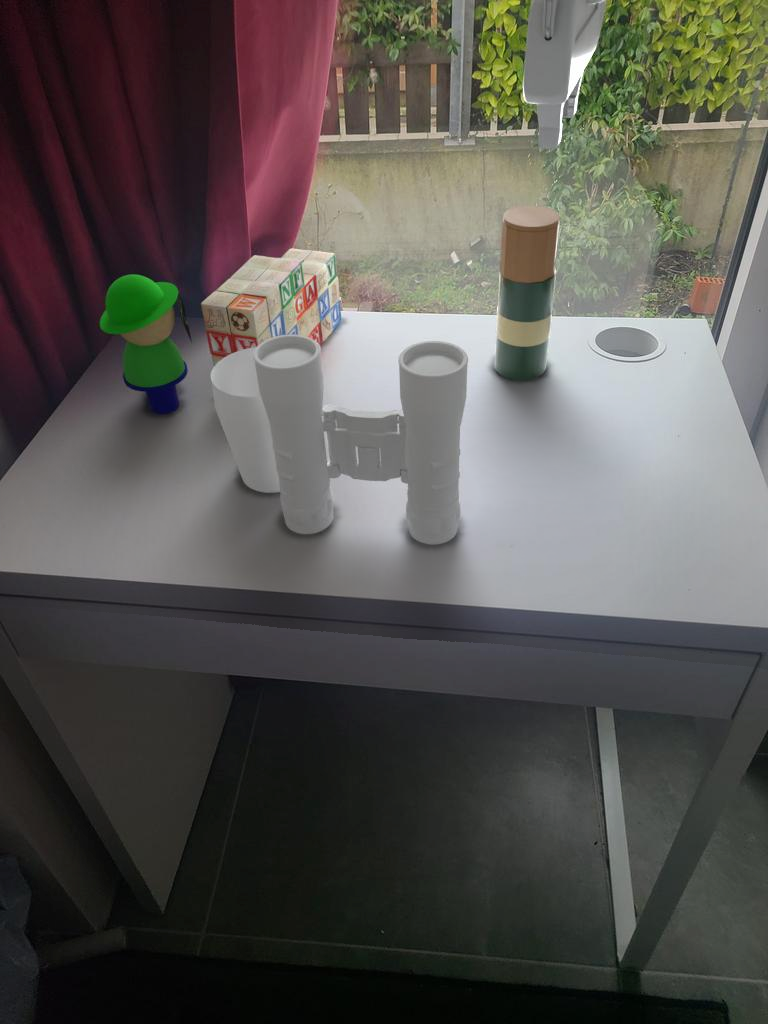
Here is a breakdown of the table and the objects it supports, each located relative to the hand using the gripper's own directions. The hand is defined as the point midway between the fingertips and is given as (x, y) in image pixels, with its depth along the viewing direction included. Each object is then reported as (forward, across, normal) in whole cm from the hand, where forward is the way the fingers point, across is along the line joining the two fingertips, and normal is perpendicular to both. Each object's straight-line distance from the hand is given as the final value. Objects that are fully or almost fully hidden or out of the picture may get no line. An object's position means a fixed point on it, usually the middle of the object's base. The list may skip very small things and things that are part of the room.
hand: (557, 130), depth 76 cm
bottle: (+27, +2, +2) cm, 27 cm away
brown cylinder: (+15, +2, +2) cm, 15 cm away
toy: (+26, -15, +40) cm, 51 cm away
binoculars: (+27, -29, +10) cm, 41 cm away
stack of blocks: (+27, -3, +30) cm, 40 cm away
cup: (+27, -24, +22) cm, 43 cm away
